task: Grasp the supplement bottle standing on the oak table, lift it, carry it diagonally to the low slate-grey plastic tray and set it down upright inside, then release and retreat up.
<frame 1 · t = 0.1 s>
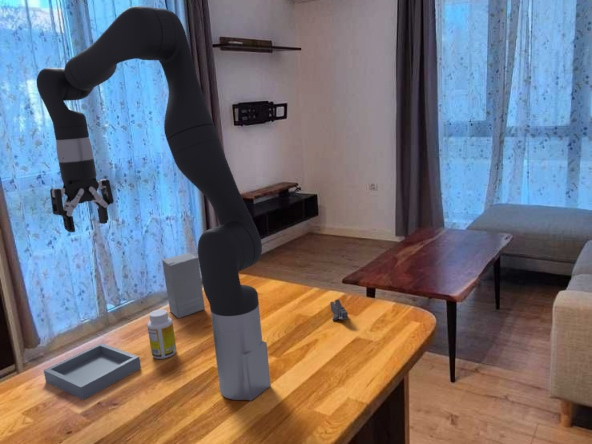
hand: (88, 227, 121), 29 cm above the table, fingers open, 8 cm apart
slate tray: (94, 375, 111), on the table
supplement bottle: (164, 354, 118), on the table
skincare box: (187, 312, 142), on the table
animal figurine: (339, 318, 131), on the table
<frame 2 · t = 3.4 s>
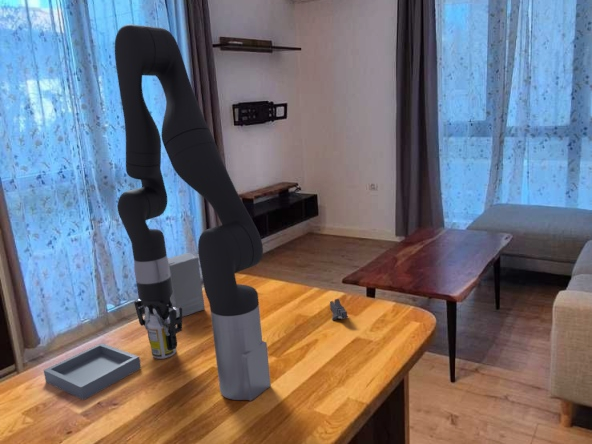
hand: (163, 345, 118), 2 cm above the table, fingers closed on supplement bottle, 5 cm apart
supplement bottle: (164, 354, 118), on the table, touching gripper
everything else where it was.
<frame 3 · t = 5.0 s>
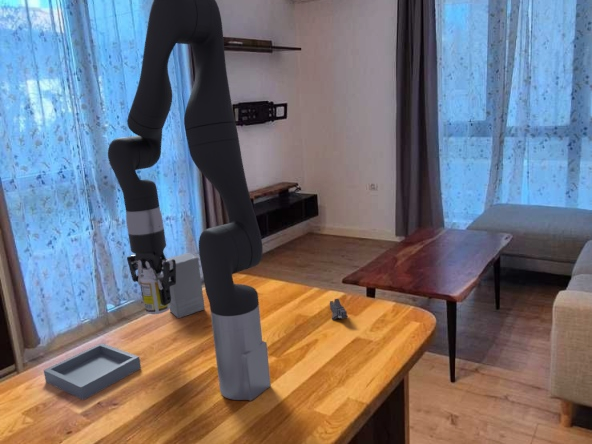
hand: (156, 301, 115), 13 cm above the table, fingers closed on supplement bottle, 5 cm apart
supplement bottle: (158, 311, 115), point 11 cm above the table, touching gripper
everything else where it was.
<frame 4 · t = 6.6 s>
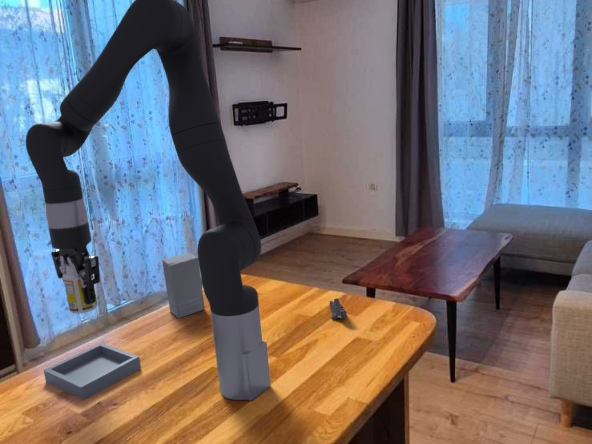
hand: (82, 300, 107), 17 cm above the table, fingers closed on supplement bottle, 5 cm apart
supplement bottle: (84, 310, 108), point 15 cm above the table, touching gripper
everything else where it was.
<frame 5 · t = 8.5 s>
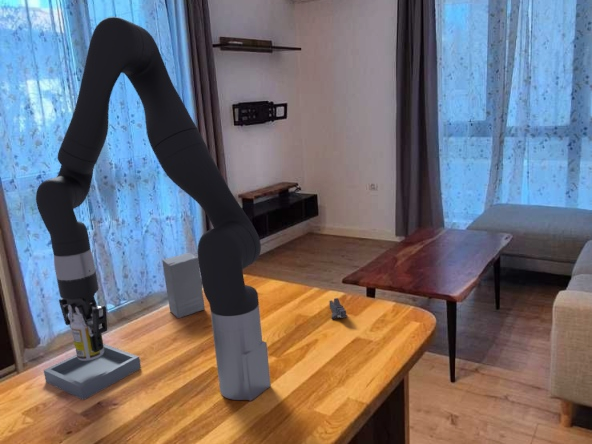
hand: (89, 346, 110), 7 cm above the table, fingers closed on supplement bottle, 5 cm apart
supplement bottle: (91, 356, 110), point 4 cm above the table, touching gripper
everything else where it was.
when the fingers open (4 cm above the table, at t = 9.9 s): supplement bottle drops 1 cm, resting on slate tray.
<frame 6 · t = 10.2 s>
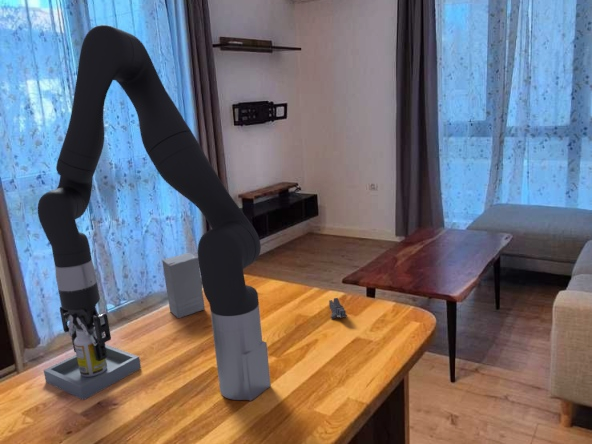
hand: (90, 355, 110), 5 cm above the table, fingers open, 7 cm apart
supplement bottle: (94, 372, 111), point 1 cm above the table, touching slate tray
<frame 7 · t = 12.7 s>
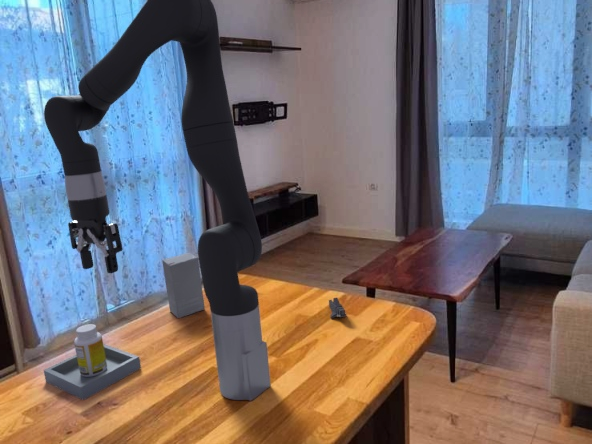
hand: (100, 270, 109), 23 cm above the table, fingers open, 8 cm apart
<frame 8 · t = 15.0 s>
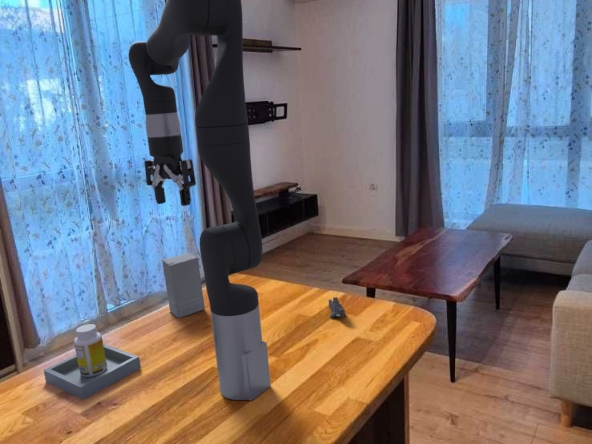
hand: (173, 204, 119), 33 cm above the table, fingers open, 8 cm apart
at the end: supplement bottle inside the target area on the slate tray (0.1 cm from its centre), point 0.6 cm above the slate tray's base; supplement bottle tilted 0°; the gripper is holding nothing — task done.
